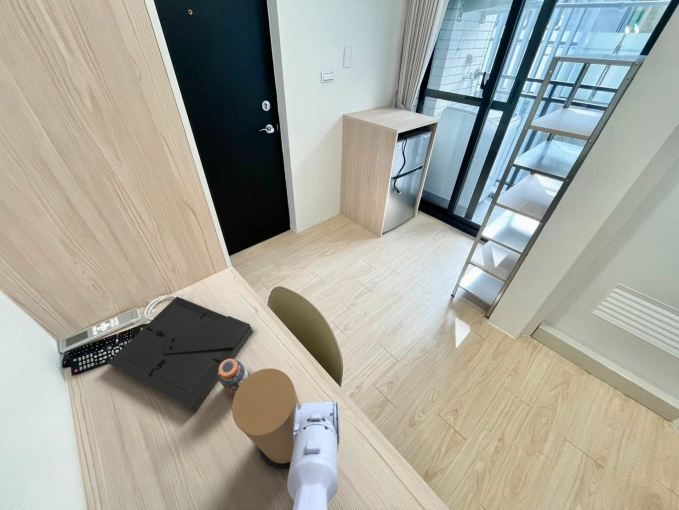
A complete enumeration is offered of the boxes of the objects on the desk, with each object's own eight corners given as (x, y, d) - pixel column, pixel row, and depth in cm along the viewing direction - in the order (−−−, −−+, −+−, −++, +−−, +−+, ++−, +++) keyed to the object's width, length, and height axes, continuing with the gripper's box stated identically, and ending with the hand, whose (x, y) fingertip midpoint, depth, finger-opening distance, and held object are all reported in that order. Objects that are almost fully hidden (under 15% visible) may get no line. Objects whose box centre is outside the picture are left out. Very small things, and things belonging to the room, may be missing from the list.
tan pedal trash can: (331, 474, 55) (328, 449, 39) (255, 458, 57) (220, 429, 40) (339, 419, 62) (339, 378, 46) (271, 407, 64) (247, 363, 48)
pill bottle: (223, 392, 68) (207, 373, 60) (237, 370, 72) (225, 350, 64) (242, 401, 66) (229, 384, 58) (256, 378, 70) (246, 359, 62)
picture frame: (253, 331, 80) (180, 302, 88) (250, 324, 77) (175, 294, 85) (195, 412, 65) (114, 367, 72) (189, 407, 62) (104, 360, 70)
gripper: (307, 390, 51) (313, 412, 61) (285, 489, 41) (295, 497, 50) (344, 396, 50) (343, 417, 60) (330, 499, 40) (332, 505, 50)
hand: (324, 454), depth 55 cm, fingers closed
